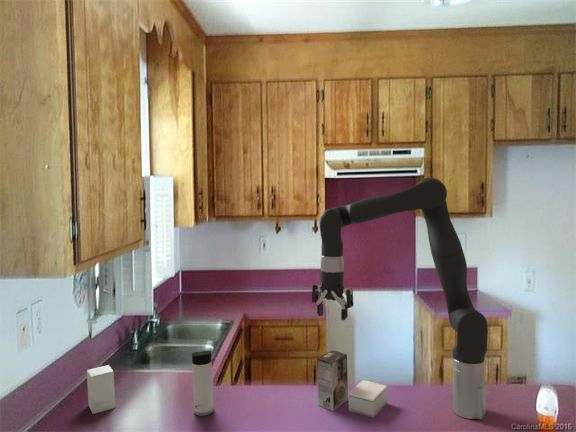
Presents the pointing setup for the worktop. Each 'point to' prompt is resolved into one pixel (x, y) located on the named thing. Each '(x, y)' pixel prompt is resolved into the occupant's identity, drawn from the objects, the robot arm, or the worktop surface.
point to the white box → (367, 405)
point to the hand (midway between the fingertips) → (332, 317)
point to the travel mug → (202, 383)
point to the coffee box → (332, 380)
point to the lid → (367, 390)
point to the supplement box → (101, 389)
